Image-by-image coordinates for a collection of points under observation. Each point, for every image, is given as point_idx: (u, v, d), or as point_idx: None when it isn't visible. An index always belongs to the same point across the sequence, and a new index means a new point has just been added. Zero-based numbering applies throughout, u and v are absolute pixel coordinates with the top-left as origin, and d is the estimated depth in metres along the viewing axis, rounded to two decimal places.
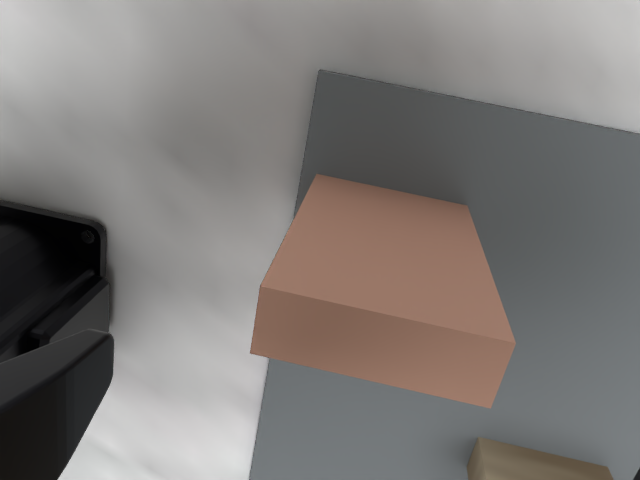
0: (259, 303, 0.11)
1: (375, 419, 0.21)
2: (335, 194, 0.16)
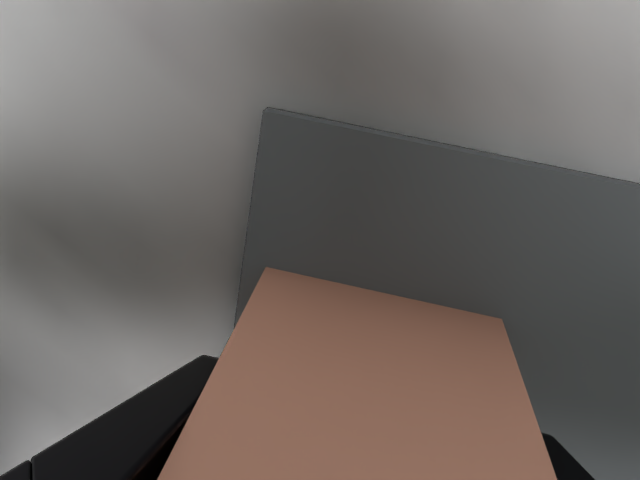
0: None
1: None
2: (289, 314, 0.10)
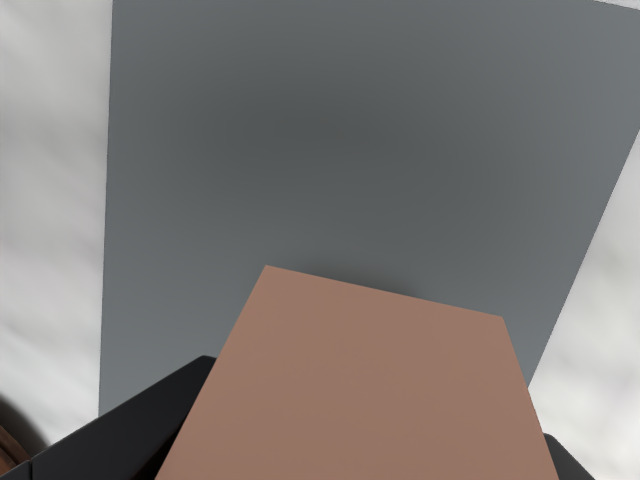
0: None
1: (207, 263, 0.23)
2: (289, 312, 0.10)
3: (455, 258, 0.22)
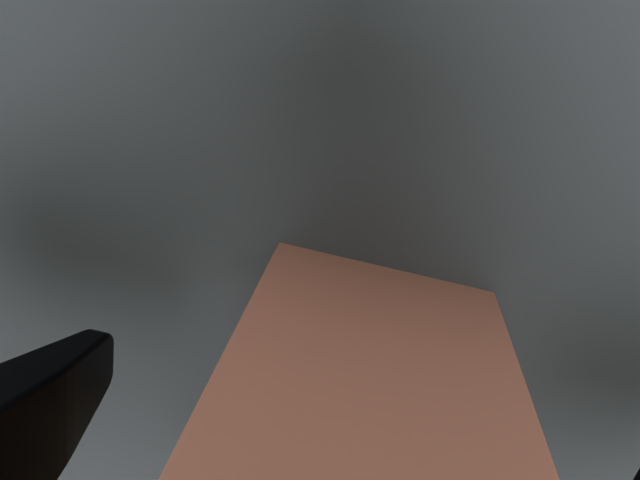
0: None
1: None
2: (302, 282, 0.11)
3: None
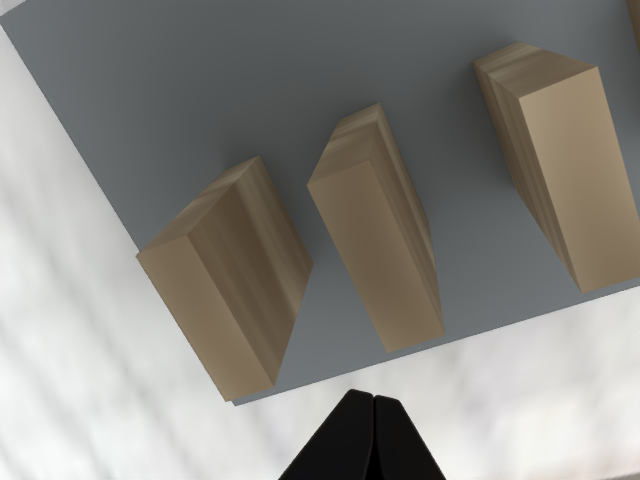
0: None
1: None
2: None
3: None
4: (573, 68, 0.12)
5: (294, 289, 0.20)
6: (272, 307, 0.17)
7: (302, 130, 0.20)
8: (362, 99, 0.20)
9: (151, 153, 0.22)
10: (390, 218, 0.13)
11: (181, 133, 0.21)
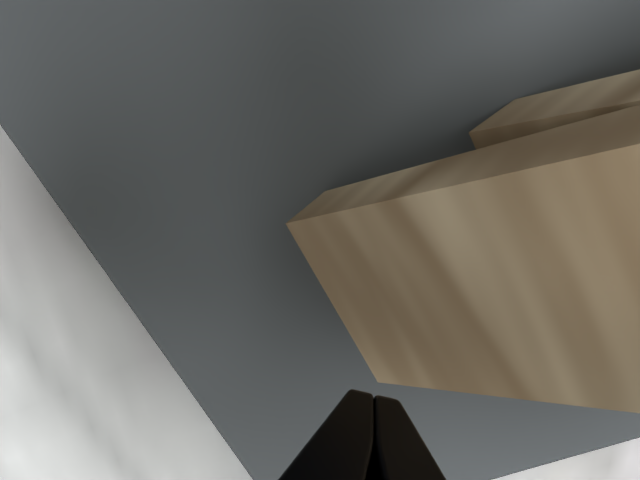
0: None
1: None
2: None
3: None
4: None
5: None
6: None
7: (387, 152, 0.13)
8: (481, 99, 0.13)
9: (160, 199, 0.15)
10: None
11: (203, 168, 0.14)
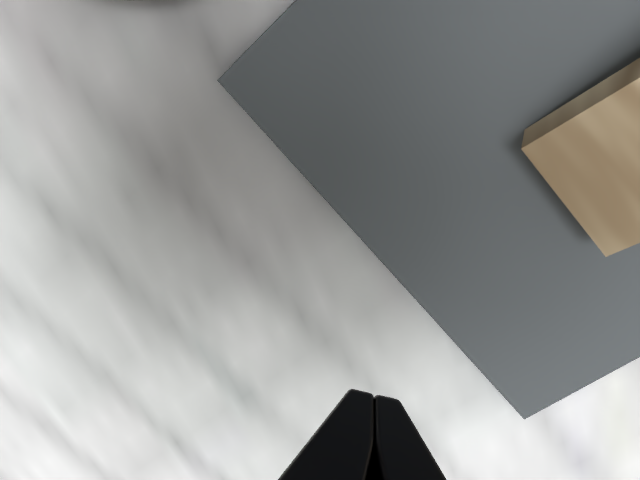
0: None
1: None
2: None
3: None
4: None
5: None
6: None
7: (563, 94, 0.19)
8: (629, 38, 0.18)
9: (395, 169, 0.20)
10: None
11: (425, 139, 0.20)
